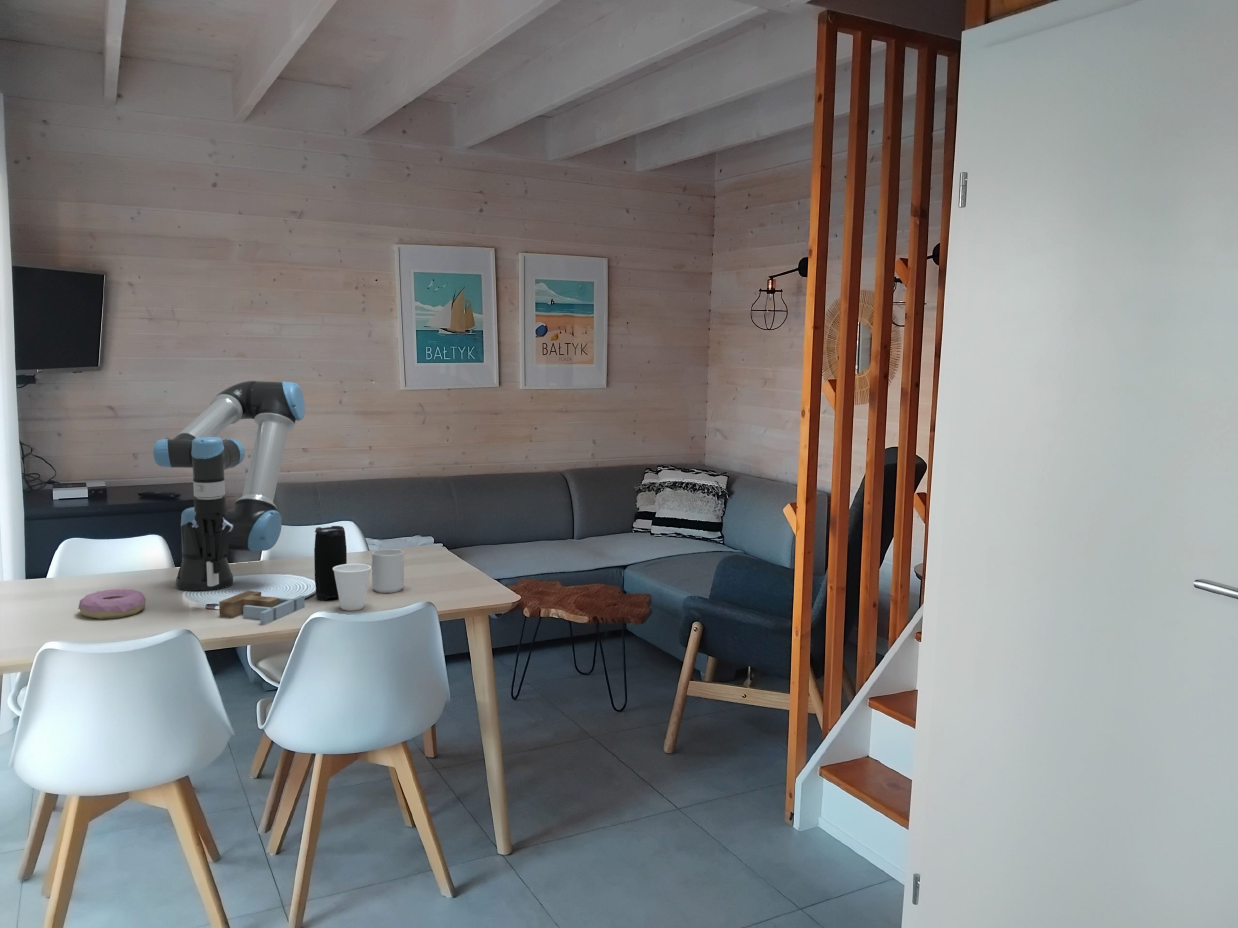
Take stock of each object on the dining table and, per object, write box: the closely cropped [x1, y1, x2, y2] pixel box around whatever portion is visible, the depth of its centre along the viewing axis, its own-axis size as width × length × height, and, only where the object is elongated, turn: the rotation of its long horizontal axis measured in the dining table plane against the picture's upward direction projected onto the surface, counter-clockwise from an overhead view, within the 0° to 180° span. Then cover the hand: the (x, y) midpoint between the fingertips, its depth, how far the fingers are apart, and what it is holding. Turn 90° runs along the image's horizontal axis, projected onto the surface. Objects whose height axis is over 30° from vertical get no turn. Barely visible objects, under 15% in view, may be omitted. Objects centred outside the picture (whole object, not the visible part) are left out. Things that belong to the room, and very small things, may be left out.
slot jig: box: [242, 595, 306, 626], centre depth 248 cm, size 9×18×3 cm, turn 166°
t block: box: [218, 590, 280, 619], centre depth 249 cm, size 12×12×4 cm
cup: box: [333, 563, 372, 612], centre depth 255 cm, size 10×10×11 cm
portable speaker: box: [313, 525, 348, 602], centre depth 265 cm, size 9×9×20 cm
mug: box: [371, 548, 405, 594], centre depth 276 cm, size 12×9×11 cm
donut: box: [77, 588, 147, 620], centre depth 246 cm, size 16×15×5 cm
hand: (213, 584), depth 252 cm, fingers closed
